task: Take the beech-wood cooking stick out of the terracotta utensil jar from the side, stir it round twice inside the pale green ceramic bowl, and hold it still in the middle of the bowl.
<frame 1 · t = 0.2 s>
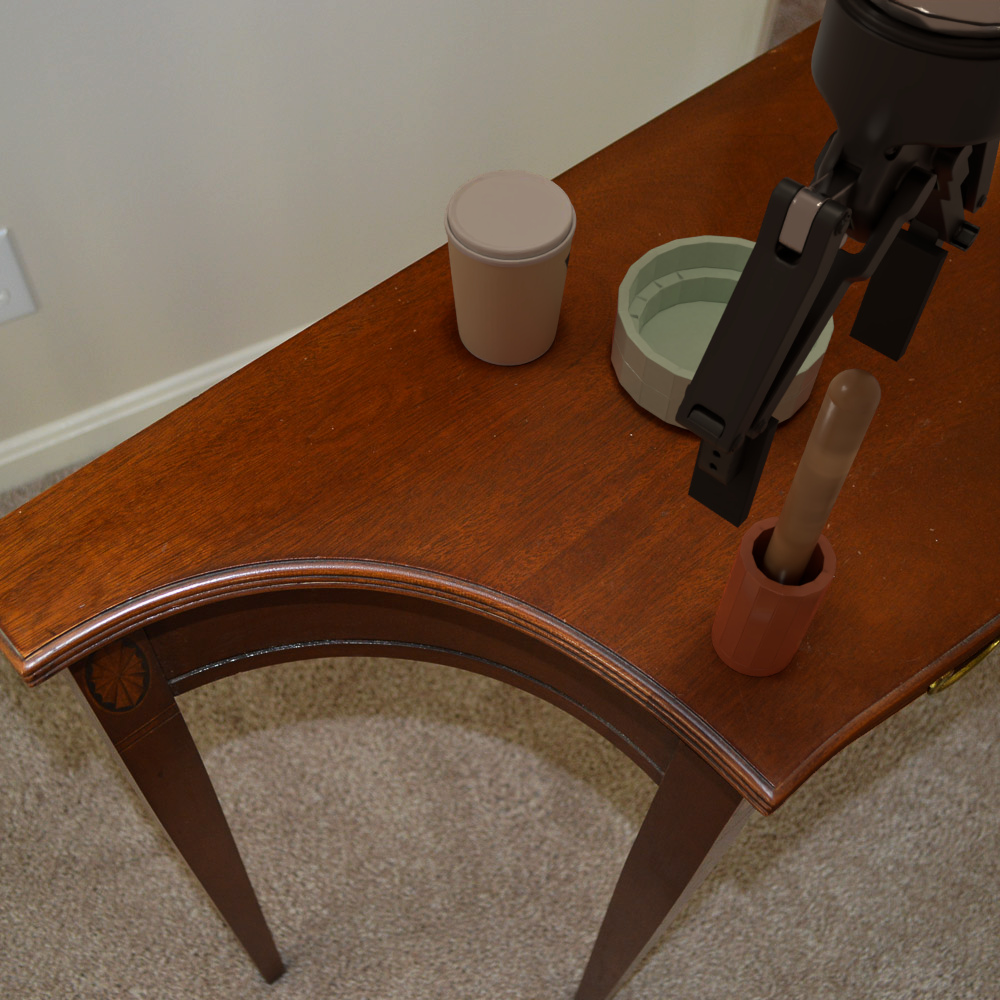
hand: (801, 421, 51), 23 cm above the table, tool pointing down, fingers open, 13 cm apart
crock: (752, 639, 70), on the table
stick: (756, 631, 70), point 1 cm above the table, touching crock
bowl: (711, 363, 84), on the table
coffee cup: (507, 332, 86), on the table
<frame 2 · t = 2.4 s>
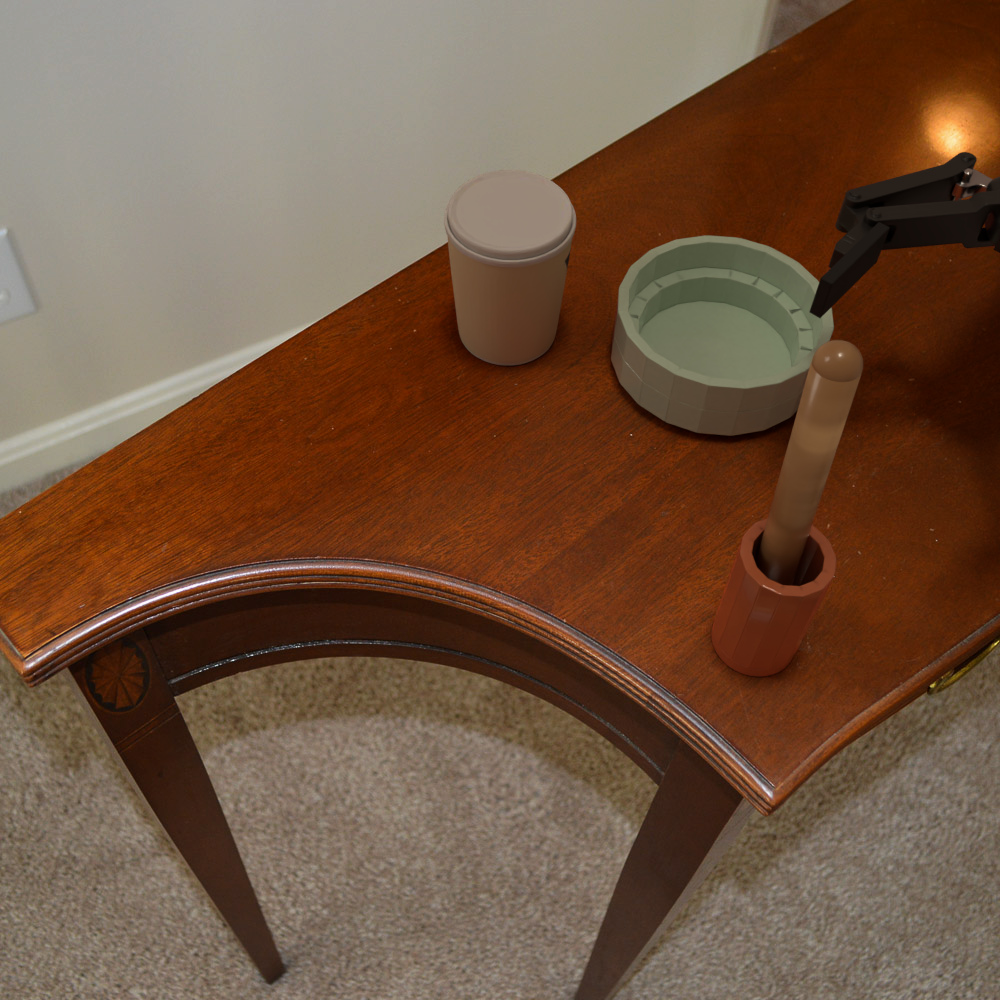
hand: (925, 357, 60), 18 cm above the table, tool horizontal, fingers open, 13 cm apart
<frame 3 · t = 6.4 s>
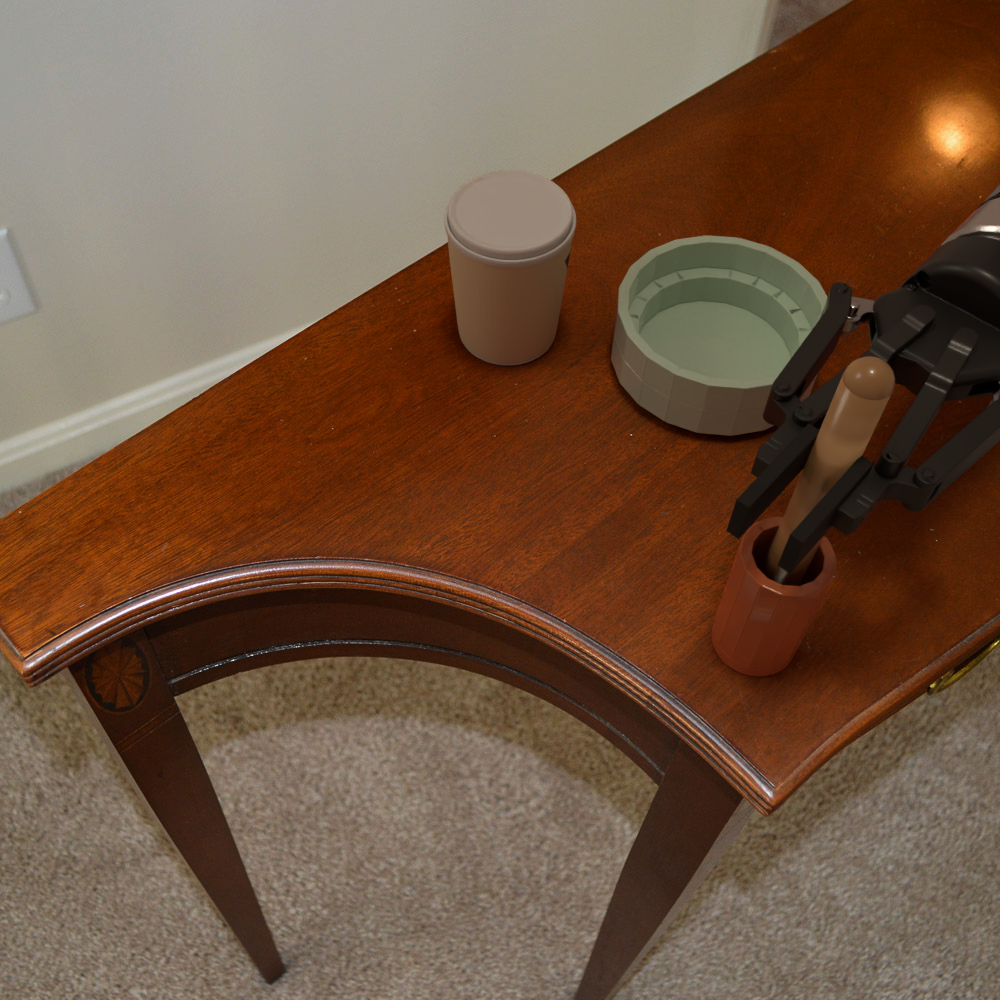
hand: (764, 536, 53), 18 cm above the table, tool horizontal, fingers closed on stick, 2 cm apart
stick: (756, 631, 70), point 1 cm above the table, touching crock, gripper
everything else where it was.
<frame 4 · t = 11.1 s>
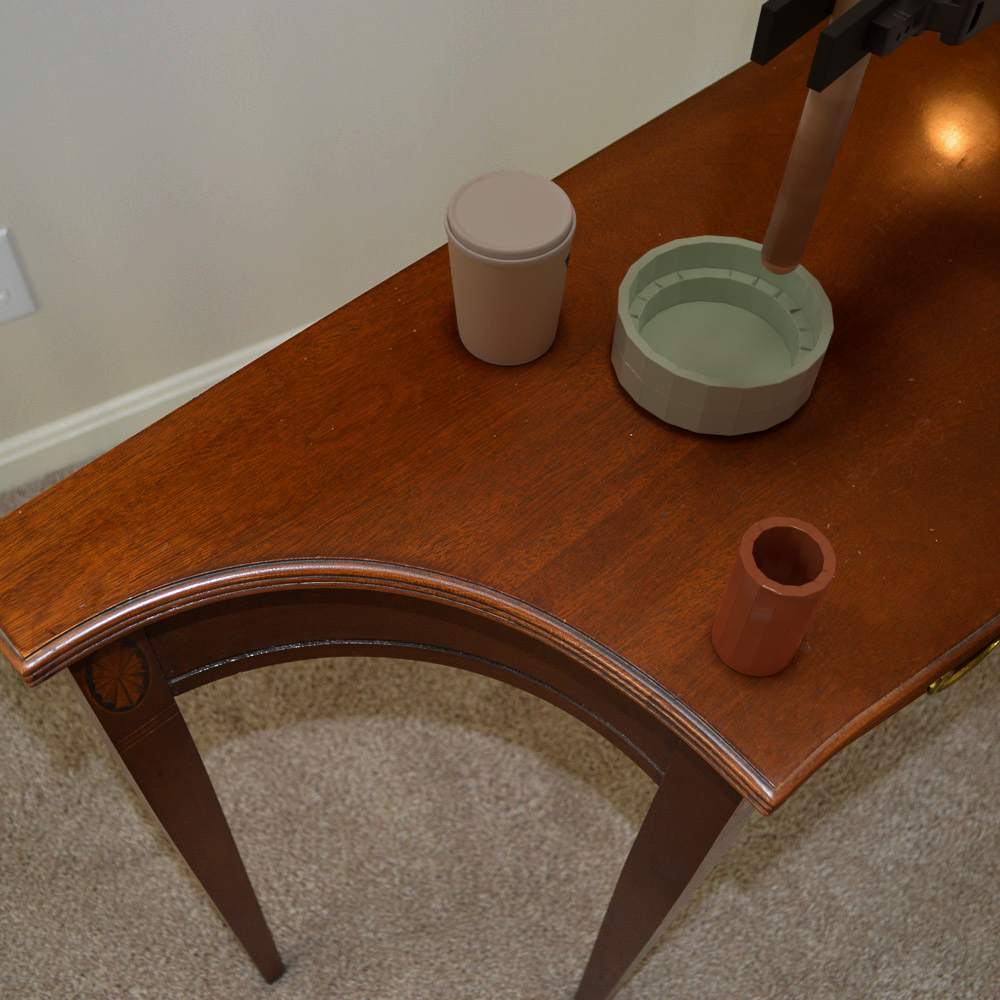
hand: (791, 49, 49), 34 cm above the table, tool horizontal, fingers closed on stick, 2 cm apart
stick: (776, 270, 65), point 17 cm above the table, touching gripper
everything else where it was.
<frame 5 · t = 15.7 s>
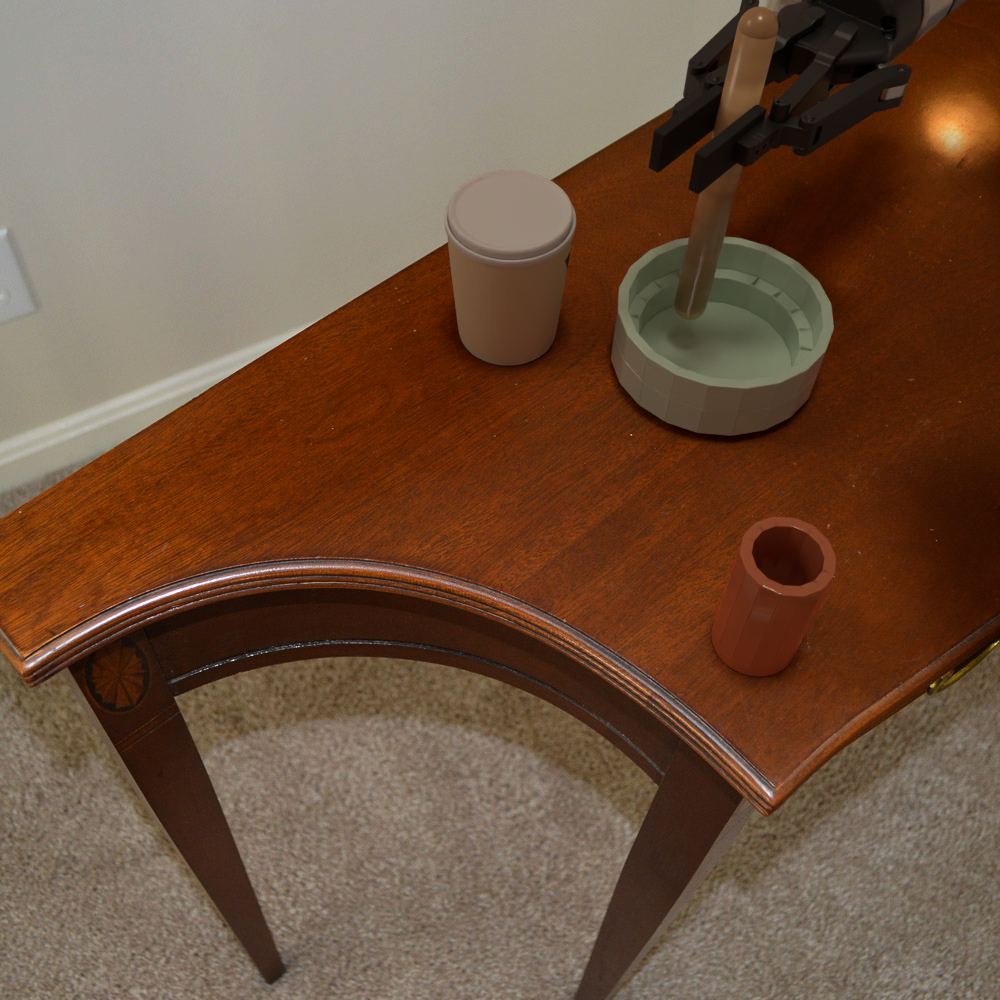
hand: (676, 162, 66), 20 cm above the table, tool horizontal, fingers closed on stick, 2 cm apart
stick: (687, 315, 83), point 3 cm above the table, touching gripper
everything else where it was.
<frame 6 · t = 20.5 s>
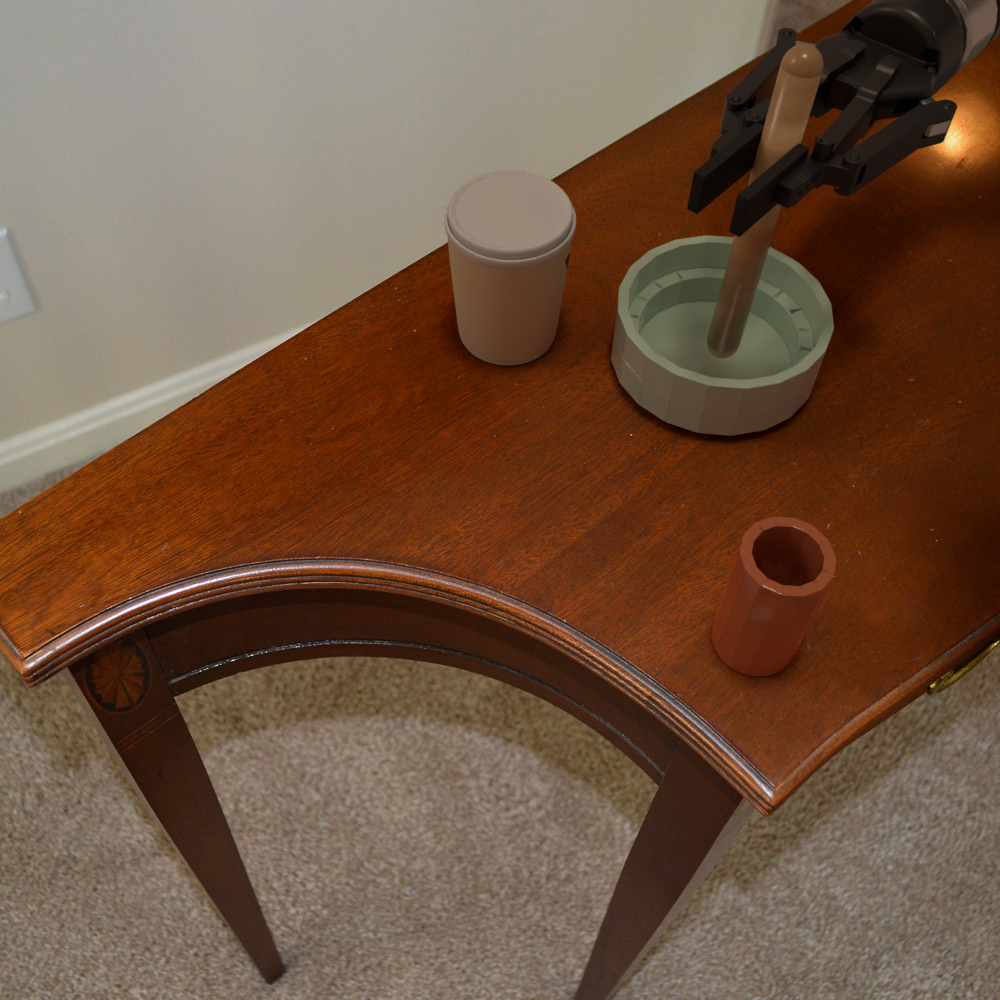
hand: (717, 204, 64), 20 cm above the table, tool horizontal, fingers closed on stick, 2 cm apart
stick: (719, 353, 80), point 3 cm above the table, touching gripper
everything else where it was.
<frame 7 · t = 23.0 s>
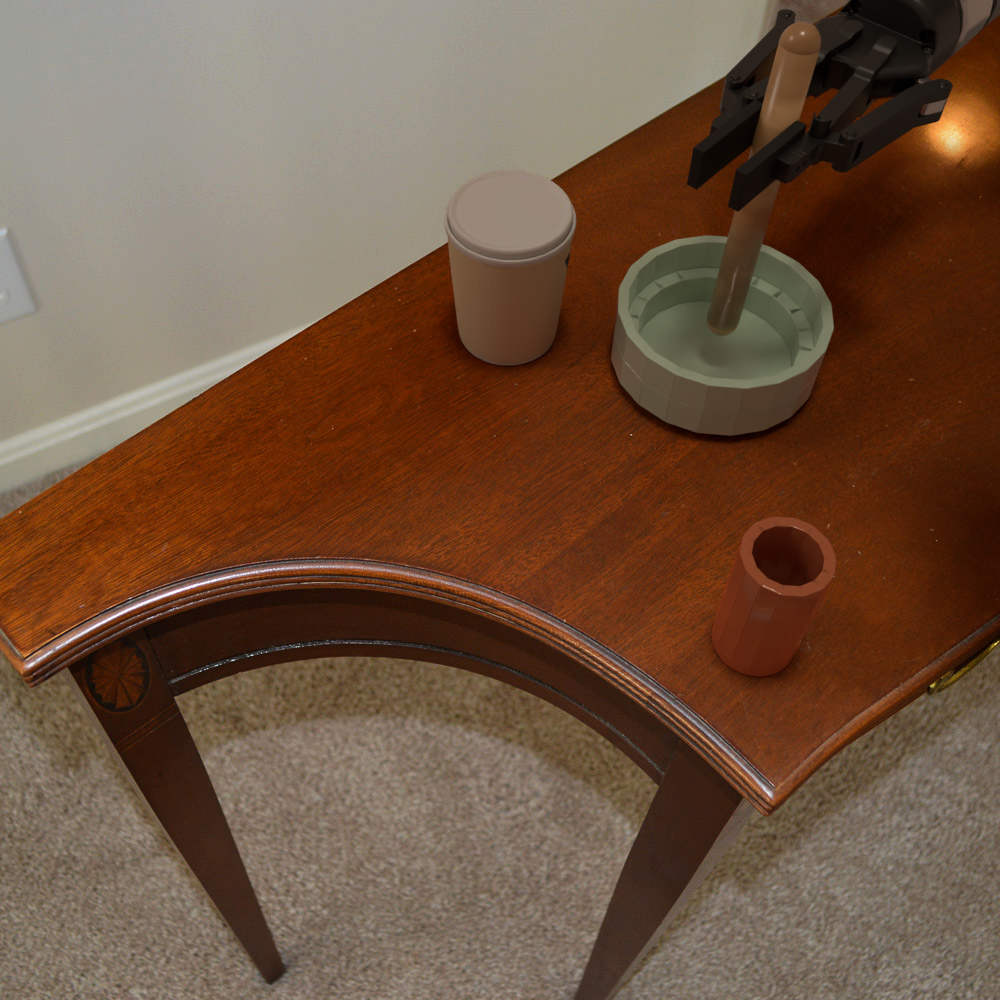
hand: (716, 179, 65), 20 cm above the table, tool horizontal, fingers closed on stick, 2 cm apart
stick: (719, 331, 82), point 3 cm above the table, touching gripper
everything else where it was.
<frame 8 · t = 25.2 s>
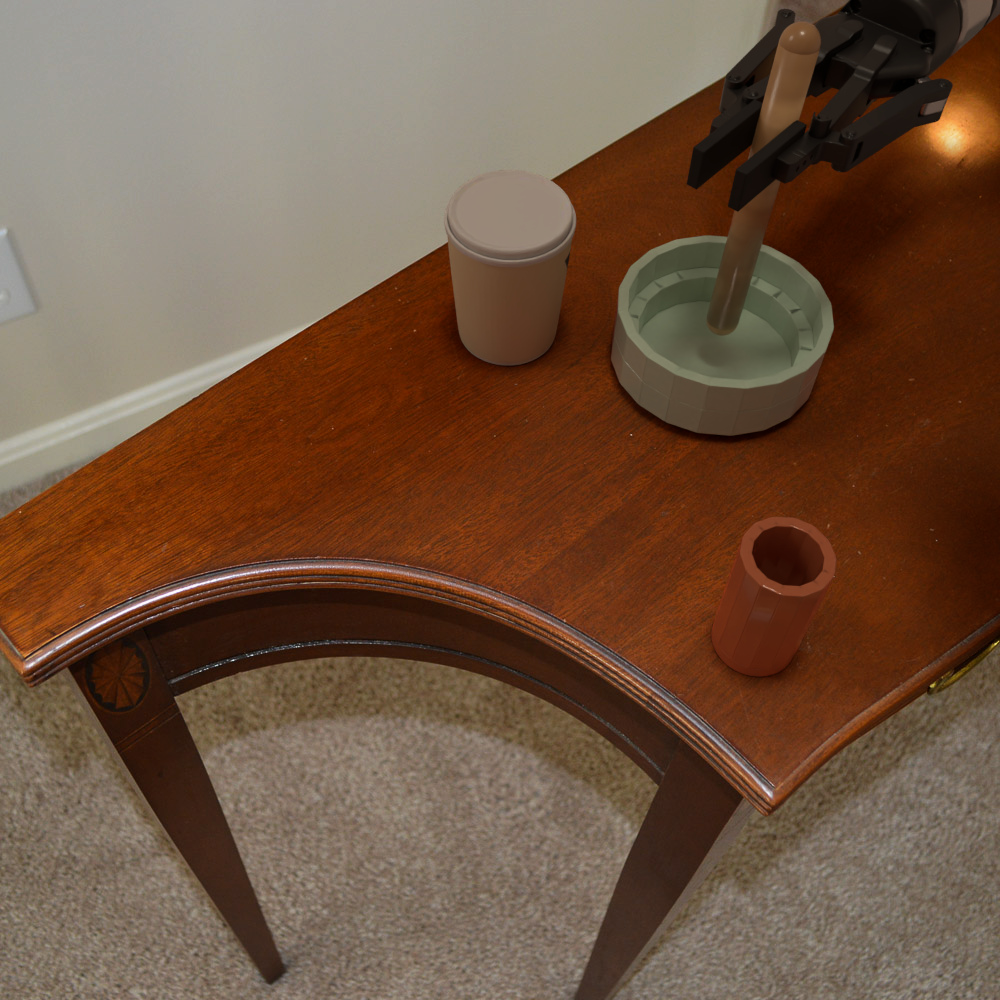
hand: (716, 179, 65), 20 cm above the table, tool horizontal, fingers closed on stick, 2 cm apart
stick: (719, 331, 82), point 3 cm above the table, touching gripper
everything else where it was.
at the end: stick inside the target area in the bowl (0.0 cm from its centre), point 3.5 cm above the bowl's base; stick moved 24.2 cm from its start; the gripper is holding stick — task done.
